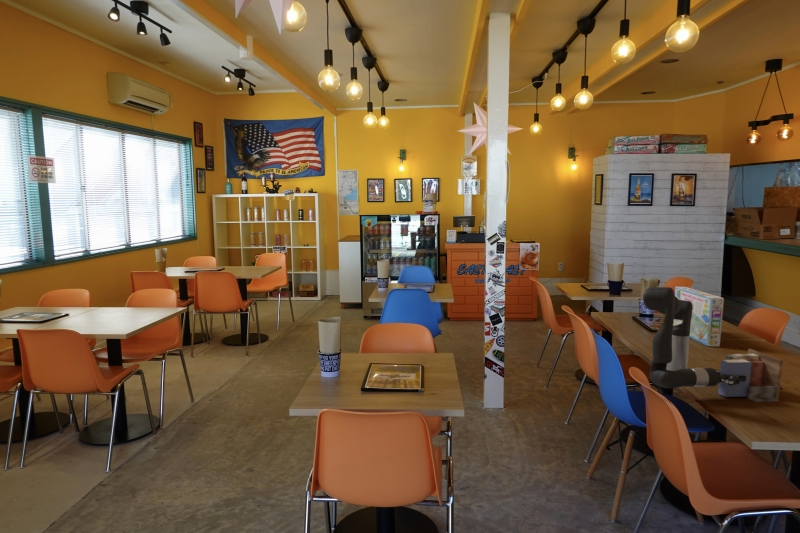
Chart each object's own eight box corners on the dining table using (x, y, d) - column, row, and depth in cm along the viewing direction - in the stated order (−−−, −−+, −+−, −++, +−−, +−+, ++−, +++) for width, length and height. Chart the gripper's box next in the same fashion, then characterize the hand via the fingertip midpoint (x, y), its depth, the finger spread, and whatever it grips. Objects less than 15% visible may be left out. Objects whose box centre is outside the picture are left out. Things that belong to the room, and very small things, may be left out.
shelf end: (754, 401, 208) (758, 362, 206) (721, 385, 226) (724, 349, 224) (782, 401, 209) (786, 361, 207) (747, 384, 228) (750, 348, 226)
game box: (720, 347, 288) (724, 298, 285) (707, 347, 288) (711, 297, 285) (683, 329, 328) (686, 286, 325) (671, 329, 328) (674, 286, 325)
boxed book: (725, 396, 211) (728, 362, 210) (718, 393, 215) (721, 359, 213) (748, 396, 212) (751, 362, 211) (740, 392, 216) (744, 359, 215)
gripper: (714, 374, 204) (755, 373, 206) (690, 362, 218) (729, 362, 220) (713, 392, 205) (753, 391, 207) (689, 380, 219) (727, 379, 221)
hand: (741, 376), depth 213 cm, fingers closed on boxed book, 4 cm apart
